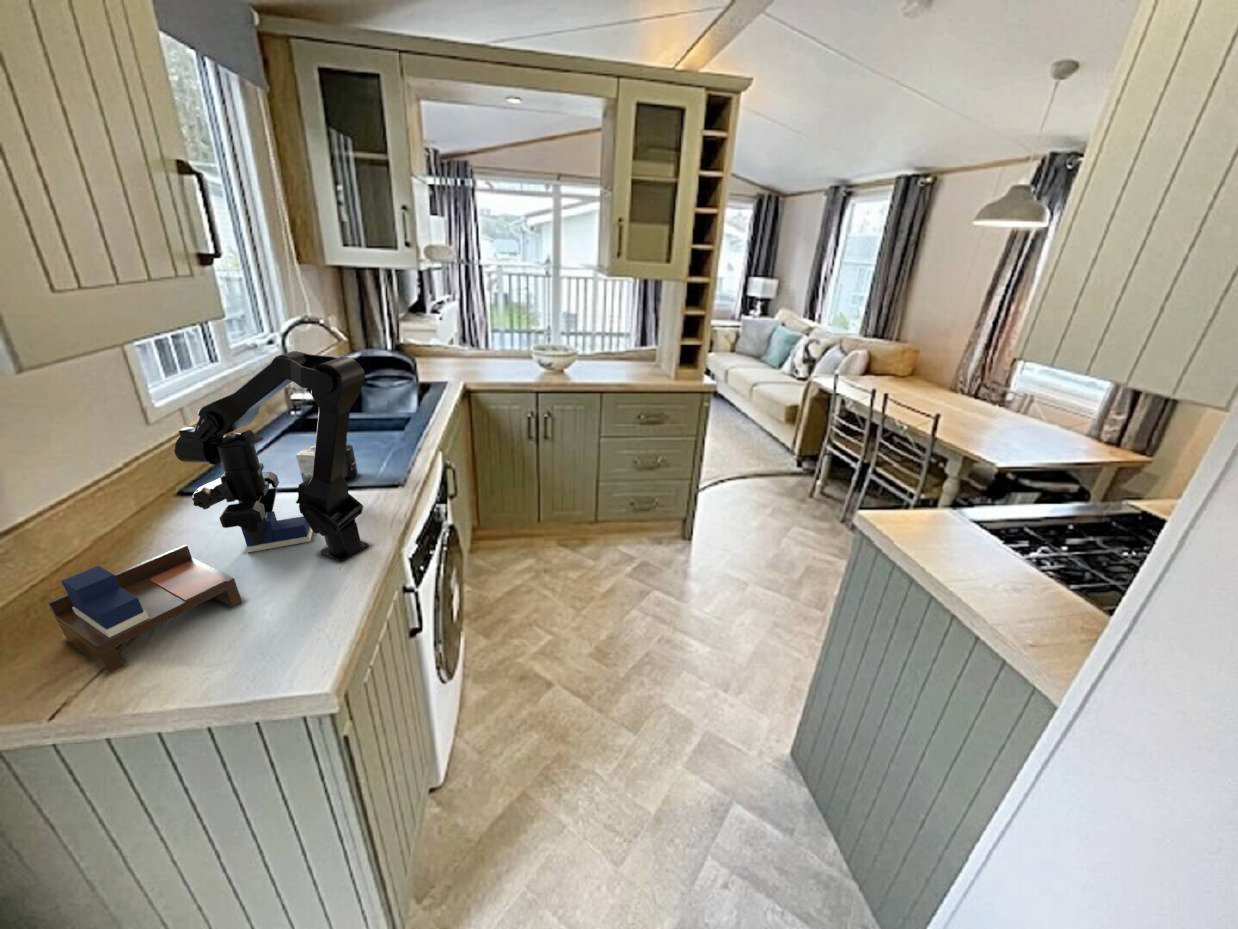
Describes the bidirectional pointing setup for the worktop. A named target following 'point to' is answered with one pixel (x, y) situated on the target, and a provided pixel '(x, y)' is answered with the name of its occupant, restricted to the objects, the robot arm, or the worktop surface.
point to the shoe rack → (148, 601)
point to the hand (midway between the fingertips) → (263, 535)
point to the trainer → (281, 533)
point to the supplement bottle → (349, 464)
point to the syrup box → (306, 462)
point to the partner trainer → (103, 601)
